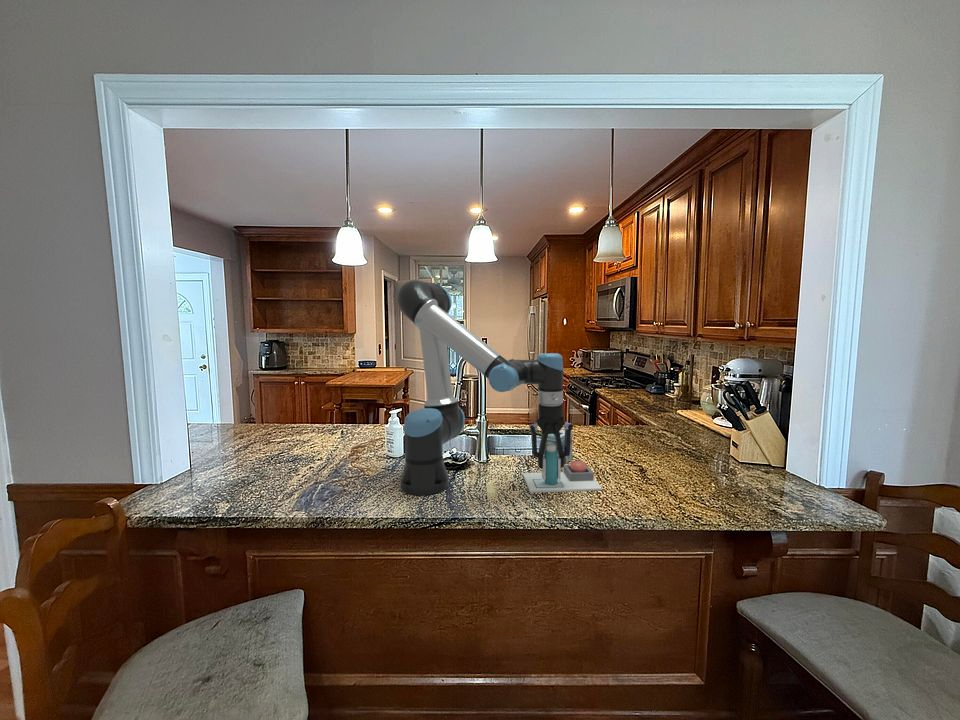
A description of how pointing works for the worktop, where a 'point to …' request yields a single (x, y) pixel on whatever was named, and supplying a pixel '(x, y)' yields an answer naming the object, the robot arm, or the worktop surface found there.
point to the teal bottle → (551, 463)
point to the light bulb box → (562, 435)
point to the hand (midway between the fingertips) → (550, 477)
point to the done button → (577, 466)
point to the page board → (563, 482)
